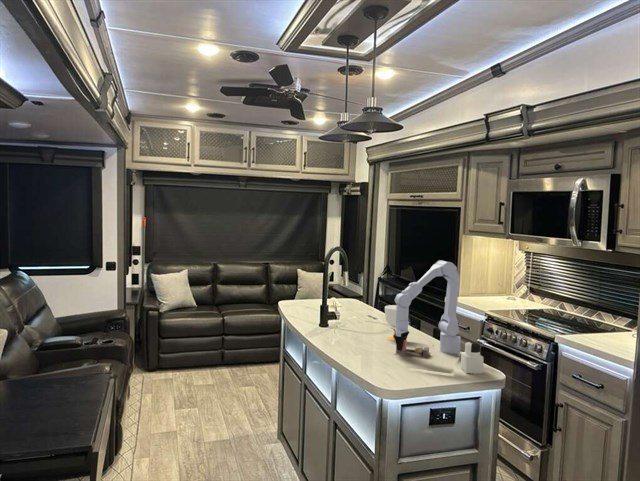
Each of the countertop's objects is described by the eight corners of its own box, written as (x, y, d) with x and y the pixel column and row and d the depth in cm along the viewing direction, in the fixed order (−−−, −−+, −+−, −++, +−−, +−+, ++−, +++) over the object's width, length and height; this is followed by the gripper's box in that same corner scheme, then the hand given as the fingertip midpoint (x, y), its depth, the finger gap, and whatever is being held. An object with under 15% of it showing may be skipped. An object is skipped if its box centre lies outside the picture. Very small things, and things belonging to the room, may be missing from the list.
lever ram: (406, 351, 220) (406, 339, 220) (404, 353, 216) (405, 341, 216) (397, 350, 222) (398, 338, 222) (395, 352, 218) (396, 340, 217)
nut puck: (423, 353, 217) (423, 347, 217) (422, 356, 214) (422, 349, 214) (415, 353, 219) (415, 346, 218) (414, 355, 215) (414, 348, 215)
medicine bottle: (476, 368, 202) (478, 340, 202) (483, 374, 195) (484, 345, 195) (460, 368, 202) (461, 340, 201) (466, 373, 195) (467, 345, 194)
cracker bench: (430, 355, 220) (431, 346, 220) (427, 361, 210) (427, 352, 209) (398, 351, 225) (399, 342, 225) (393, 357, 215) (394, 348, 215)
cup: (406, 343, 239) (407, 310, 239) (382, 341, 242) (384, 308, 241) (406, 337, 251) (407, 305, 250) (384, 335, 253) (385, 304, 252)
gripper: (396, 315, 227) (395, 343, 227) (390, 321, 213) (389, 351, 214) (411, 317, 224) (410, 345, 225) (405, 323, 211) (404, 353, 211)
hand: (400, 348), depth 219 cm, fingers open, 6 cm apart
